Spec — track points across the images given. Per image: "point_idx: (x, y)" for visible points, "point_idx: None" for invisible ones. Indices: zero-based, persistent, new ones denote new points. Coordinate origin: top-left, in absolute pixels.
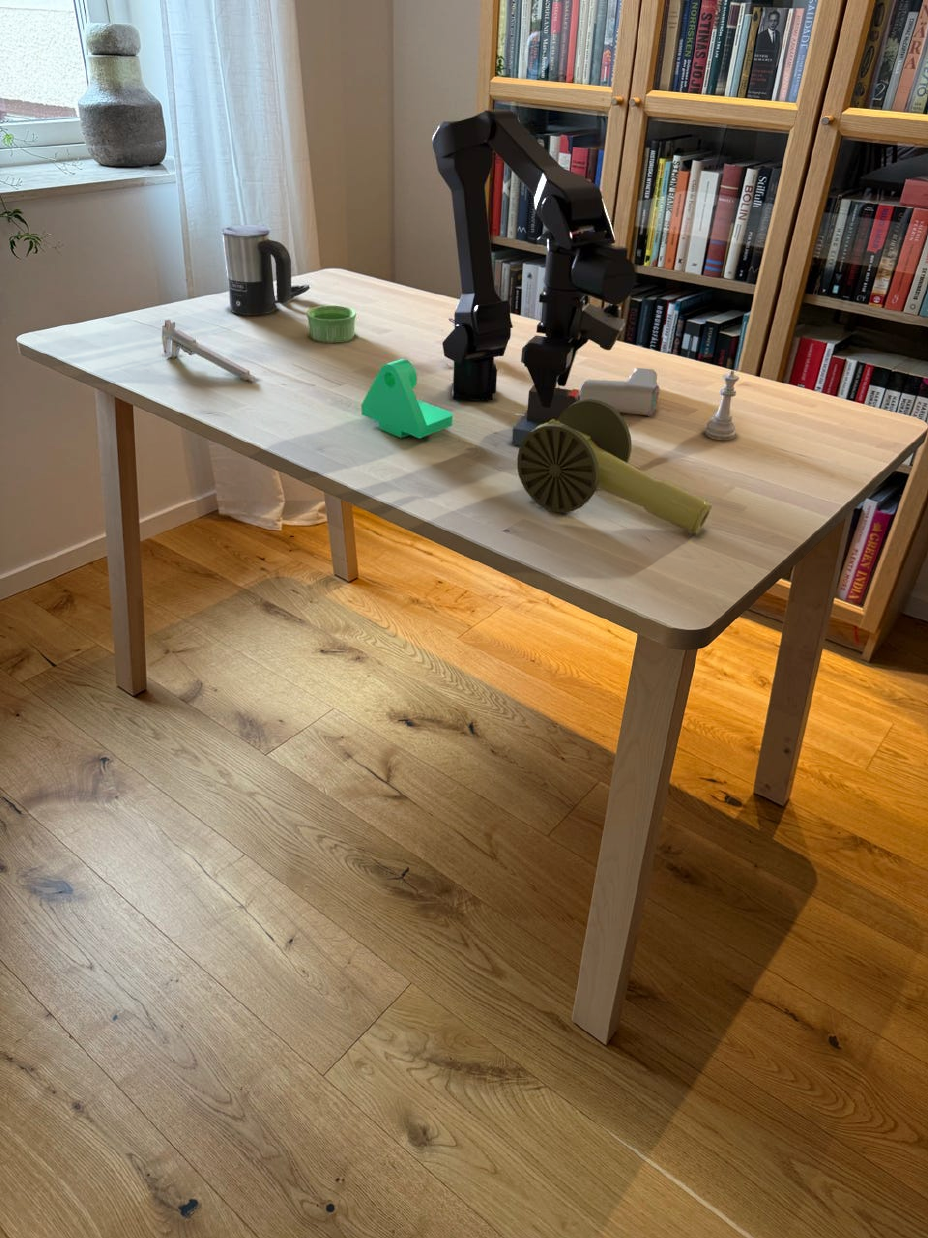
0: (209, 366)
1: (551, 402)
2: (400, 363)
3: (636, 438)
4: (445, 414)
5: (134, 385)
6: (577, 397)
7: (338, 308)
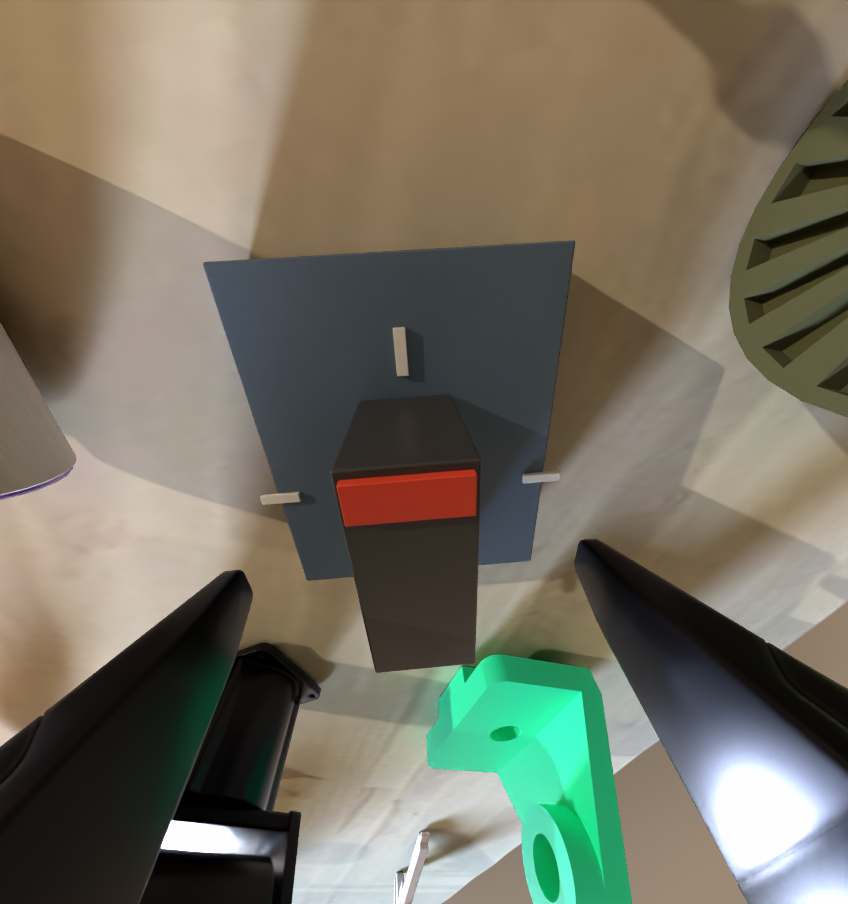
0: (405, 855)
1: (603, 553)
2: None
3: (200, 73)
4: (503, 690)
5: (495, 857)
6: (442, 458)
7: None
